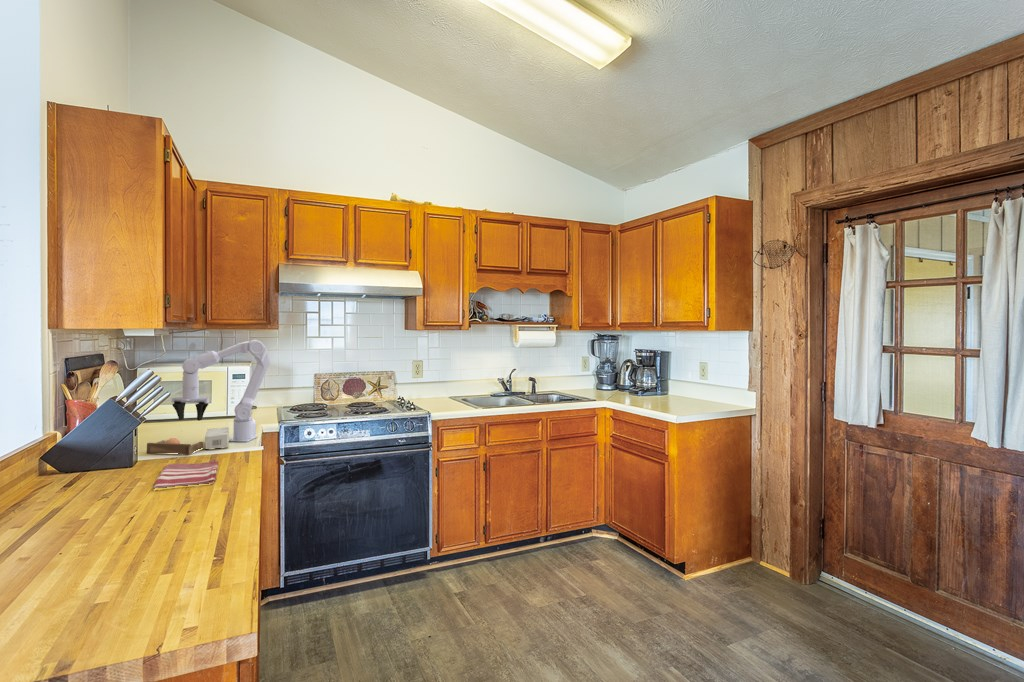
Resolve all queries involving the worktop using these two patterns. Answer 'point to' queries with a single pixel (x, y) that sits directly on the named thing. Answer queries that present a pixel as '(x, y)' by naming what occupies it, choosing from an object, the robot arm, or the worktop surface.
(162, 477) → the dish towel
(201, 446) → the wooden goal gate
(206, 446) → the skincare box
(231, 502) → the worktop surface
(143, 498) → the worktop surface
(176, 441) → the ball
